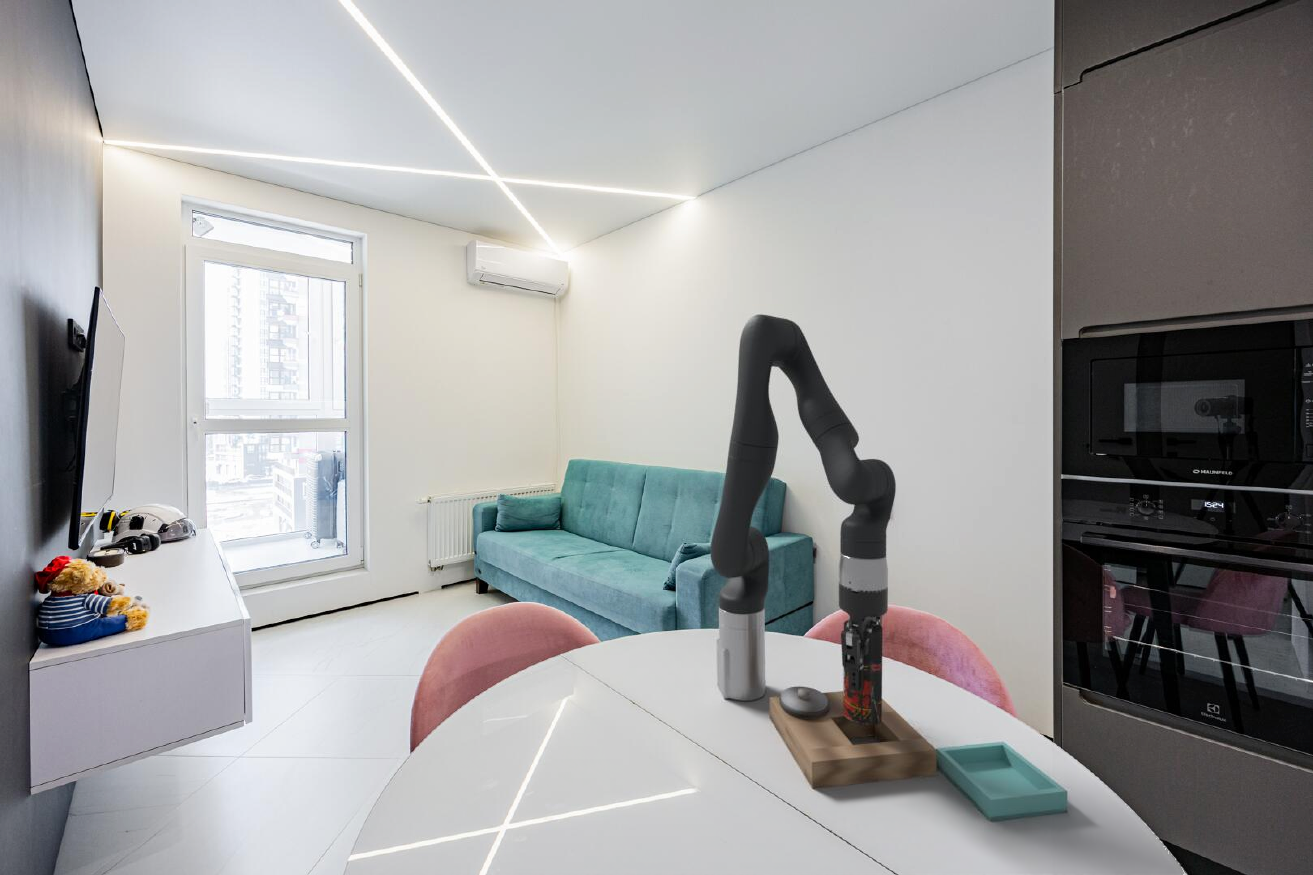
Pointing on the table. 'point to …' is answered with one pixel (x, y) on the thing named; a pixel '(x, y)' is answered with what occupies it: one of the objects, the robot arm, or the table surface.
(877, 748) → the block
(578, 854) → the table surface
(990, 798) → the tray
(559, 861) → the table surface
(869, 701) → the deodorant
